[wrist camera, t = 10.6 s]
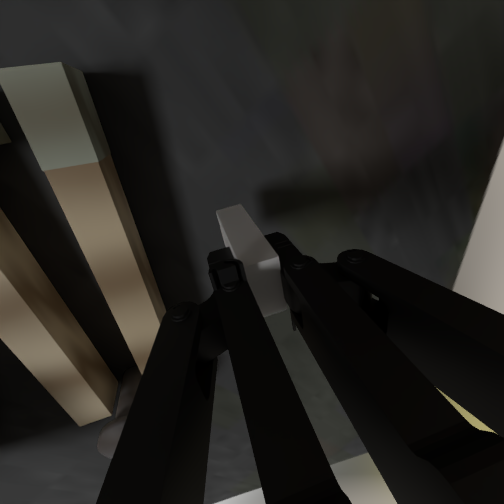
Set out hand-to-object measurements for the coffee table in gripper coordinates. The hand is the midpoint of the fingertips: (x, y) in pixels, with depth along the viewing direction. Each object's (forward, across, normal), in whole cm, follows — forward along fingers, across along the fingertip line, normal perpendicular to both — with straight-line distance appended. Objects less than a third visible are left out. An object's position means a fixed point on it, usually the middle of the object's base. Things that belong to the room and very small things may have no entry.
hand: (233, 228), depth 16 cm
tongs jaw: (+3, -7, -2) cm, 8 cm away
